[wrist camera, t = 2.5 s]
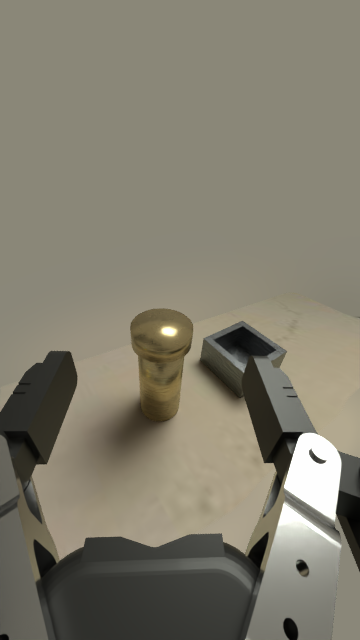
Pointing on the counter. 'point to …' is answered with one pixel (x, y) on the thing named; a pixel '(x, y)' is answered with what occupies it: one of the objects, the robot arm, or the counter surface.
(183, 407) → the counter surface
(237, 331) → the open metal box
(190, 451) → the counter surface
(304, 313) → the counter surface
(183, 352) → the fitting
